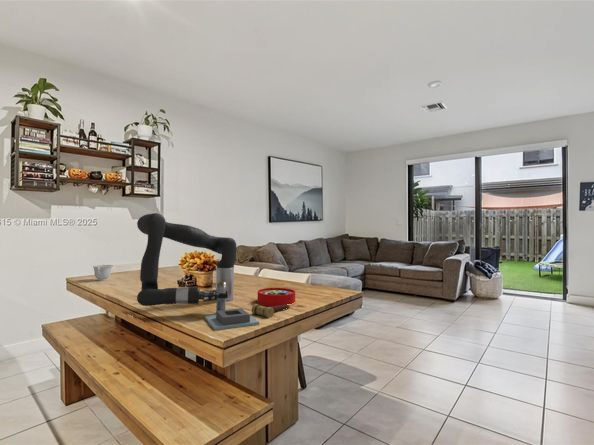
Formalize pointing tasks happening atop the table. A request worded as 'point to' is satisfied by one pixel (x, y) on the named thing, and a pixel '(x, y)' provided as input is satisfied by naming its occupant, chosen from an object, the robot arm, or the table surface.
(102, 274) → the teacup
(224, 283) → the chrome cylinder
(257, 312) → the gavel
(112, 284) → the table surface
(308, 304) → the table surface
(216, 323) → the dock
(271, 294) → the toy clock
